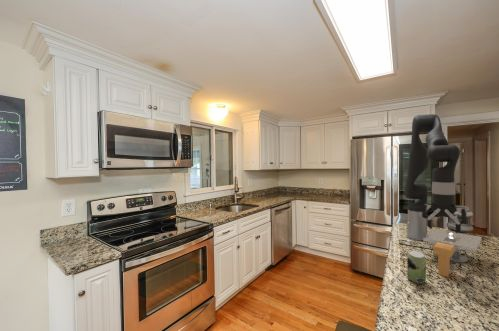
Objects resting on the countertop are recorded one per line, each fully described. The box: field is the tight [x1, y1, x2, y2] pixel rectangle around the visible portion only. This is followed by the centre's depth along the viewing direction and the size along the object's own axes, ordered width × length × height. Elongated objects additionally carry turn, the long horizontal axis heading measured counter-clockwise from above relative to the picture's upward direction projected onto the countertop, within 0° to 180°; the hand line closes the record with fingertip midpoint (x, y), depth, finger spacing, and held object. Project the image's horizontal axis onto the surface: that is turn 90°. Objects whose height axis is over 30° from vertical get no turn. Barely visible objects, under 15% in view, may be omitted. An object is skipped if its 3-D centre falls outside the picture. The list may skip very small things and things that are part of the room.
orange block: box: [432, 242, 454, 277], centre depth 96 cm, size 6×7×12 cm
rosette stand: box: [422, 228, 482, 264], centre depth 107 cm, size 18×20×13 cm
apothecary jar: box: [446, 205, 474, 234], centre depth 137 cm, size 12×12×18 cm
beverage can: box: [406, 250, 427, 284], centre depth 91 cm, size 6×7×12 cm
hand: (443, 230), depth 95 cm, fingers open, 8 cm apart
